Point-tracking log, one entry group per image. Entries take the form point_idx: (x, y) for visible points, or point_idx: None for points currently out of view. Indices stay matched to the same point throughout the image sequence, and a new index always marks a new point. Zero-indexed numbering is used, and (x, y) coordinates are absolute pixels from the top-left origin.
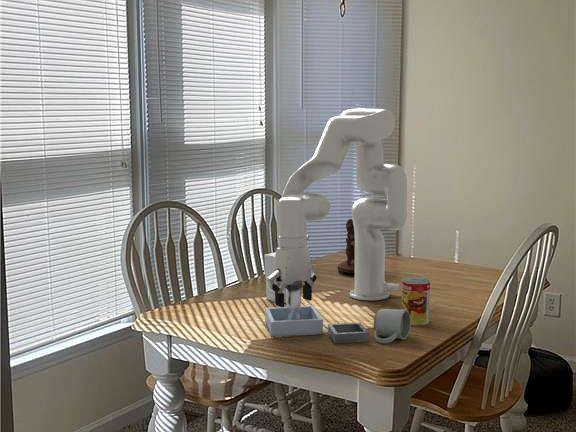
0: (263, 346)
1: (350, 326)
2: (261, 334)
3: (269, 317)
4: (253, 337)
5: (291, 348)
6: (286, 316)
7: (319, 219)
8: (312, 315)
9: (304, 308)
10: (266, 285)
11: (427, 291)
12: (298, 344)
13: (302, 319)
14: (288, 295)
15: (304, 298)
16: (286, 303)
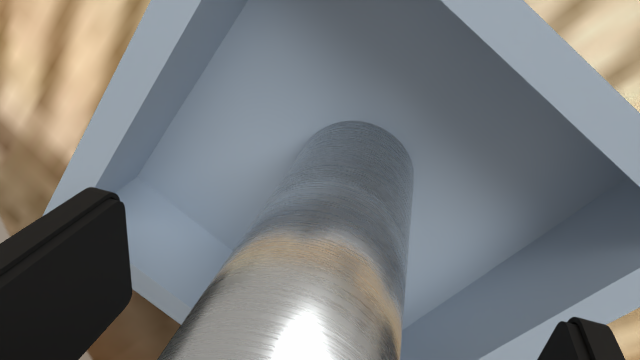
0: (9, 231)
1: None
2: (91, 88)
3: (89, 131)
4: (22, 89)
5: (104, 340)
6: (288, 170)
7: None
8: (569, 254)
9: (630, 177)
10: None
11: None
12: (160, 340)
13: (549, 135)
14: None
15: (550, 346)
16: (232, 252)
